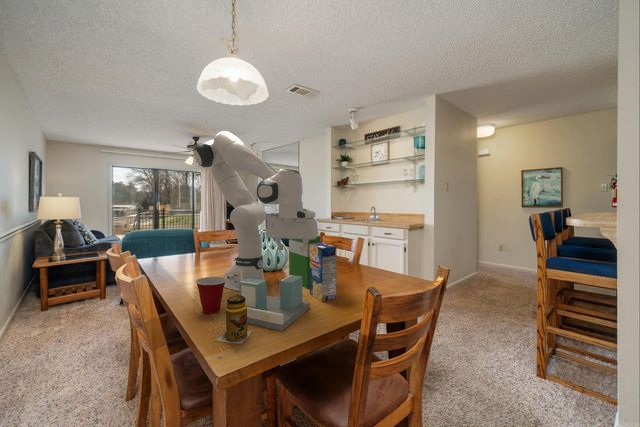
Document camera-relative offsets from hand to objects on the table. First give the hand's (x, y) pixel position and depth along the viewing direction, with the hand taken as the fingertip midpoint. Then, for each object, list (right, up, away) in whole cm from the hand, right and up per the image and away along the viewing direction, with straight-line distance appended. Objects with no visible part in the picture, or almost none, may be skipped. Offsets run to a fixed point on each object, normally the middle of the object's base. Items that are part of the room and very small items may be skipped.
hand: (291, 250), depth 99 cm
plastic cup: (-30, -23, +1) cm, 37 cm away
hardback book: (+3, -21, +35) cm, 41 cm away
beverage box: (+12, -22, +16) cm, 29 cm away
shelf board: (-7, -23, -1) cm, 24 cm away
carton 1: (-14, -21, -2) cm, 25 cm away
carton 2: (0, -21, +1) cm, 21 cm away
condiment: (-15, -24, -18) cm, 33 cm away
